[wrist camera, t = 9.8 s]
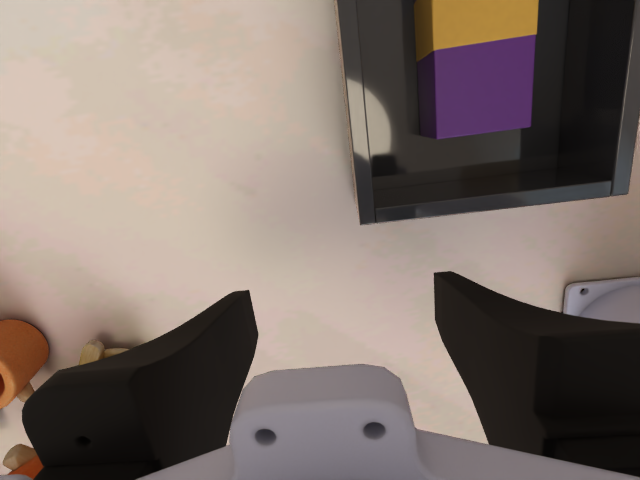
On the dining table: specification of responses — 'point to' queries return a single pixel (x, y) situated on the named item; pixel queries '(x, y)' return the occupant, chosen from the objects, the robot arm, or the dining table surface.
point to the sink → (502, 146)
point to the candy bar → (474, 65)
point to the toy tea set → (19, 368)
